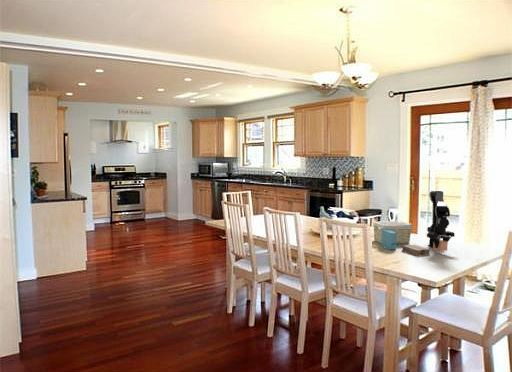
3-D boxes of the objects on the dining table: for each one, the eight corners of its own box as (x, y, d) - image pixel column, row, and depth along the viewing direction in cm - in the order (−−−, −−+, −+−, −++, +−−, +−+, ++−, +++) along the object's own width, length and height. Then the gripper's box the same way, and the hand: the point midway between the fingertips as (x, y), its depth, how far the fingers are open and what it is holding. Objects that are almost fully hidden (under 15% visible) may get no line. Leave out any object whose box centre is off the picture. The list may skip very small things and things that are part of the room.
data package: (396, 249, 274) (397, 232, 273) (390, 250, 273) (391, 233, 272) (386, 246, 286) (387, 229, 285) (381, 246, 285) (381, 229, 284)
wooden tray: (414, 250, 275) (414, 244, 275) (429, 255, 262) (429, 249, 262) (402, 251, 272) (402, 245, 272) (417, 256, 259) (417, 250, 258)
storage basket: (400, 239, 309) (401, 220, 308) (412, 244, 293) (413, 224, 292) (371, 240, 304) (372, 221, 303) (382, 245, 288) (383, 225, 287)
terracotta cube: (439, 248, 268) (440, 239, 268) (447, 250, 263) (447, 241, 262) (433, 249, 266) (433, 240, 265) (440, 251, 260) (440, 242, 260)
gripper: (441, 221, 274) (440, 243, 275) (420, 223, 267) (420, 246, 268) (455, 224, 264) (454, 247, 265) (434, 226, 256) (433, 250, 258)
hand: (440, 247), depth 264 cm, fingers closed on terracotta cube, 6 cm apart
